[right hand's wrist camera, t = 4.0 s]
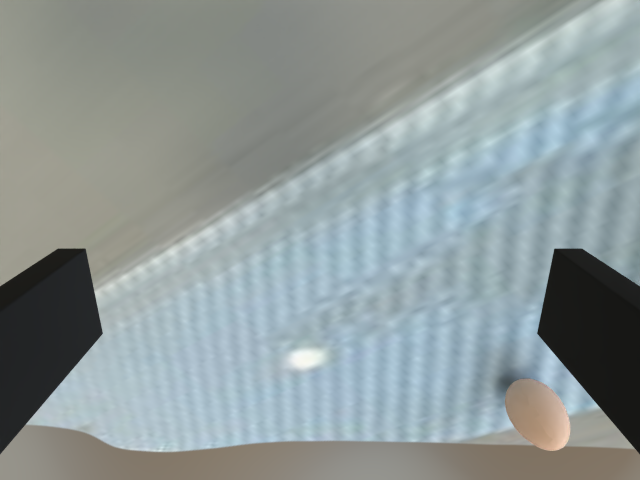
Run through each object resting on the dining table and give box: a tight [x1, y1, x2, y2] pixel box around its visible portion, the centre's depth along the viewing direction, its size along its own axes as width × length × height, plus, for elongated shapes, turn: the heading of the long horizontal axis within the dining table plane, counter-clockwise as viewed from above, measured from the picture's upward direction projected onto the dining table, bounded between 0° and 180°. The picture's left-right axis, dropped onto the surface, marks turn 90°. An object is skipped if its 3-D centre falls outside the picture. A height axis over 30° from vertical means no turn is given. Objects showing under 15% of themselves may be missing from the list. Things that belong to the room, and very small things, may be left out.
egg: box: [505, 379, 570, 451], centre depth 44 cm, size 5×5×8 cm
